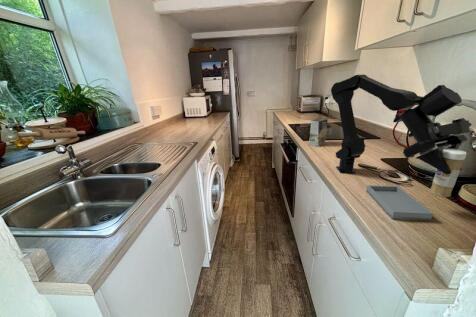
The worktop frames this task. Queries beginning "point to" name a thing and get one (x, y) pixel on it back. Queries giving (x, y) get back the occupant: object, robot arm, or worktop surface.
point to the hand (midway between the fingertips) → (454, 172)
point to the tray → (398, 203)
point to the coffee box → (318, 132)
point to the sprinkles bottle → (447, 181)
